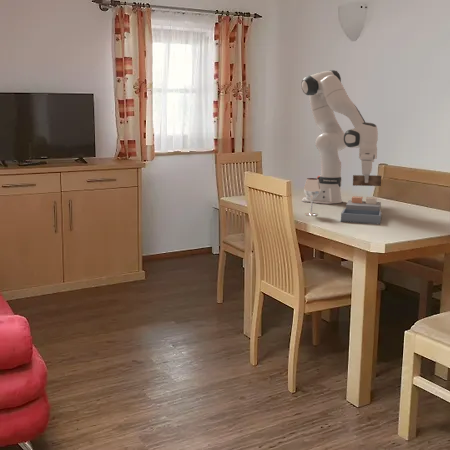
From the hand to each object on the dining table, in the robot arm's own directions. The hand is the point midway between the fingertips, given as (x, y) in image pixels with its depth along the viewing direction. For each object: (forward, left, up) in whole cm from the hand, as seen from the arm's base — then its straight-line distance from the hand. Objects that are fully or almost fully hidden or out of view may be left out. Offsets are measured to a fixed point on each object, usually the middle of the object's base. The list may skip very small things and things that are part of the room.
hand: (366, 182), depth 312 cm
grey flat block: (0, -11, -15) cm, 19 cm away
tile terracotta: (-4, -8, -9) cm, 13 cm away
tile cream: (+3, -8, -9) cm, 13 cm away
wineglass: (-25, -18, -16) cm, 35 cm away
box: (0, -24, -15) cm, 29 cm away
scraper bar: (0, 0, -2) cm, 2 cm away
